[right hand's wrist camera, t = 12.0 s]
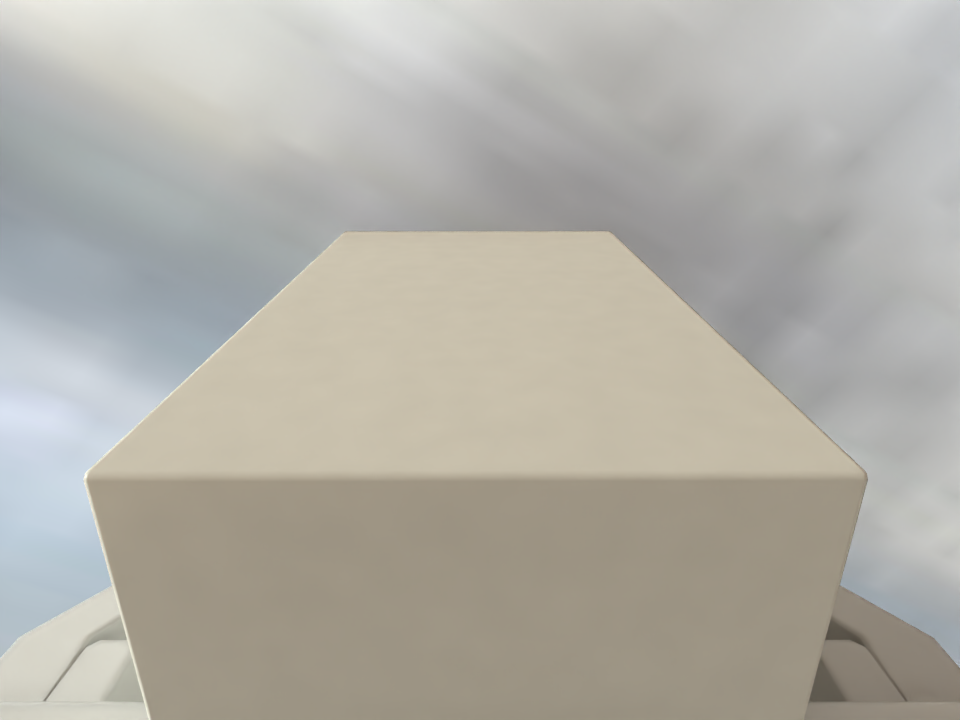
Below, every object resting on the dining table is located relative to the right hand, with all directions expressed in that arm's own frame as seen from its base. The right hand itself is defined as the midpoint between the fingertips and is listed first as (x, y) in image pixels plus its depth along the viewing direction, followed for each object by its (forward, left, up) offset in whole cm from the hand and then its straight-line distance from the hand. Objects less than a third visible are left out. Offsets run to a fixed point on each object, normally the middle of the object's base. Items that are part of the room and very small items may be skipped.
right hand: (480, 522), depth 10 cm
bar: (+9, +3, -3) cm, 10 cm away
